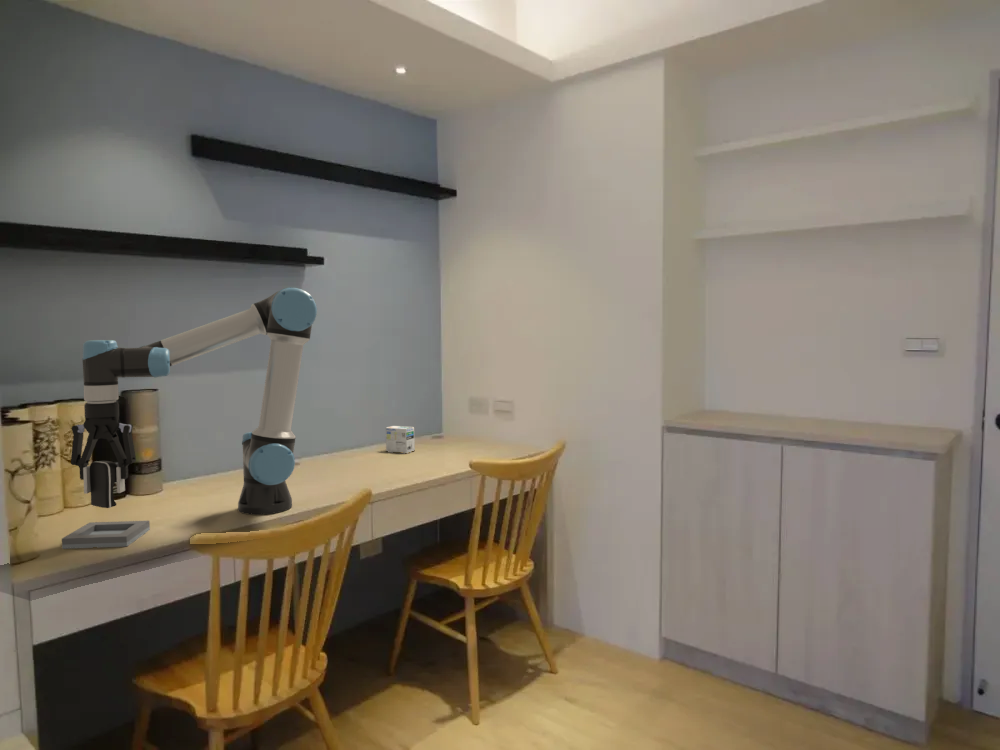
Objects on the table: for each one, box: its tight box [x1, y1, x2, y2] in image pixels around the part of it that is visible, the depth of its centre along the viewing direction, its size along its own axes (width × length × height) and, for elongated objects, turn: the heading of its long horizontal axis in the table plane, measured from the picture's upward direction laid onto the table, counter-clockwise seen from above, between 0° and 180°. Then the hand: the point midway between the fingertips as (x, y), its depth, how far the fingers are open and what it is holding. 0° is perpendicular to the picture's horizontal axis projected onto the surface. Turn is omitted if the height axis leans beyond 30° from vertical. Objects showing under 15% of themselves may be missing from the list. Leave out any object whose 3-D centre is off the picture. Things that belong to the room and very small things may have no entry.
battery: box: [89, 460, 118, 509], centre depth 175 cm, size 7×4×11 cm, turn 63°
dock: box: [61, 520, 151, 550], centre depth 176 cm, size 15×14×2 cm
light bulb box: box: [385, 425, 416, 454], centre depth 297 cm, size 11×7×11 cm, turn 66°
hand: (104, 491), depth 175 cm, fingers closed on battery, 7 cm apart
